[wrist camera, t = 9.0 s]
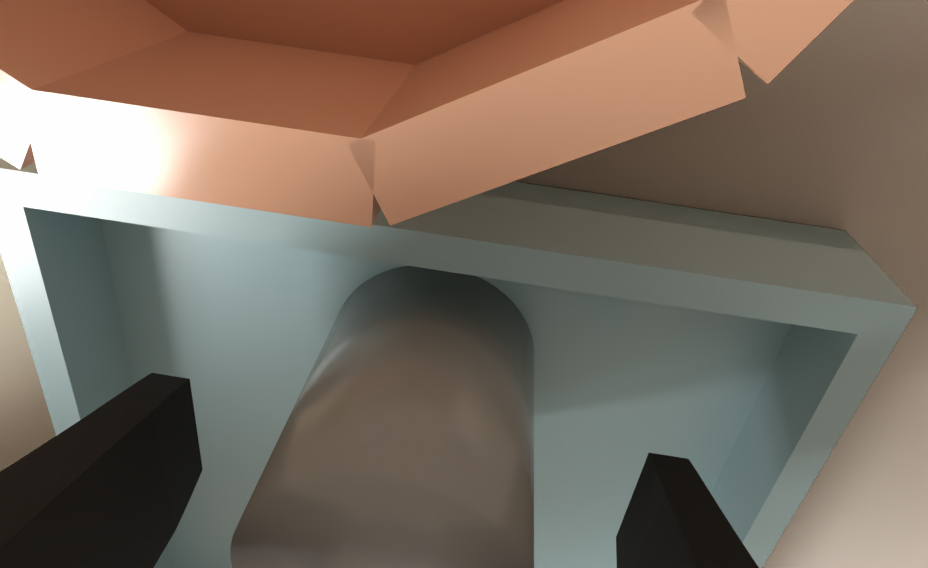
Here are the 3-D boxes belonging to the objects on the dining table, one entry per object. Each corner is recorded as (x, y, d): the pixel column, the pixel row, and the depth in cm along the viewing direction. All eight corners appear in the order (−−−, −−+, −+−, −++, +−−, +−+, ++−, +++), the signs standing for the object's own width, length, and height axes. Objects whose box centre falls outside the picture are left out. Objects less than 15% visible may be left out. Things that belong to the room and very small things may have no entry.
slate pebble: (332, 411, 14) (240, 642, 9) (334, 249, 12) (216, 452, 7) (516, 440, 14) (508, 687, 9) (552, 282, 11) (563, 507, 7)
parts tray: (171, 578, 19) (125, 663, 17) (77, 115, 12) (-27, 164, 9) (638, 654, 19) (651, 751, 16) (845, 230, 11) (917, 307, 9)
